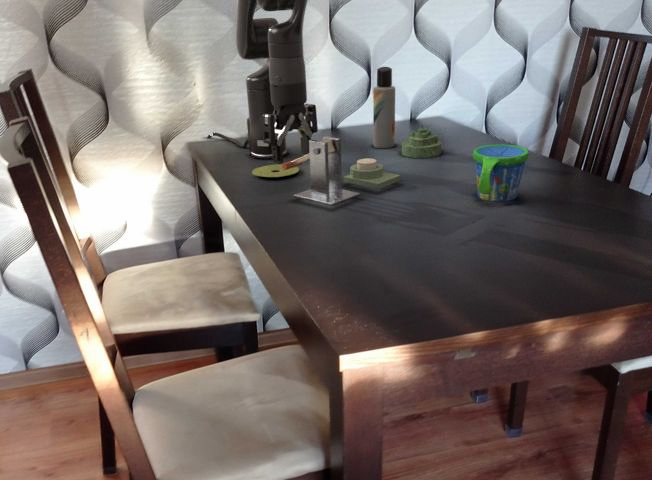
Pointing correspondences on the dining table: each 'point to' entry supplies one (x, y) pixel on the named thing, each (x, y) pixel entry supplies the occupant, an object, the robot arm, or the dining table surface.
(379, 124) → the lotion bottle
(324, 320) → the dining table surface
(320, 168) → the bracket
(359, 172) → the control block
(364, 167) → the button
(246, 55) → the robot arm
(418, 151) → the decorative artifact
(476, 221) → the dining table surface
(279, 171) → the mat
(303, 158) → the lever
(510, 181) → the snack cup
